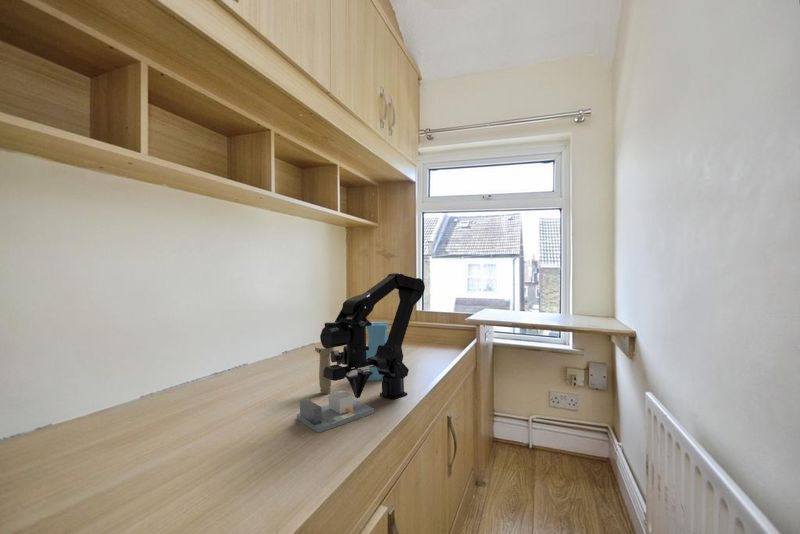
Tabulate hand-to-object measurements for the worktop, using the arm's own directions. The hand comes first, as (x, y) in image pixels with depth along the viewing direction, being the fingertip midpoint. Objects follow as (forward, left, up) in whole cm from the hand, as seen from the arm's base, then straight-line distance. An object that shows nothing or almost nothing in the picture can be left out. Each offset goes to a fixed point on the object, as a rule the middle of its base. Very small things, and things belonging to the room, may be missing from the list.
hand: (357, 397), depth 98 cm
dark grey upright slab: (+15, 0, -2) cm, 15 cm away
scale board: (+7, 0, -3) cm, 8 cm away
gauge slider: (+6, +1, -2) cm, 6 cm away
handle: (0, -19, -3) cm, 19 cm away
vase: (-23, -20, -3) cm, 31 cm away
